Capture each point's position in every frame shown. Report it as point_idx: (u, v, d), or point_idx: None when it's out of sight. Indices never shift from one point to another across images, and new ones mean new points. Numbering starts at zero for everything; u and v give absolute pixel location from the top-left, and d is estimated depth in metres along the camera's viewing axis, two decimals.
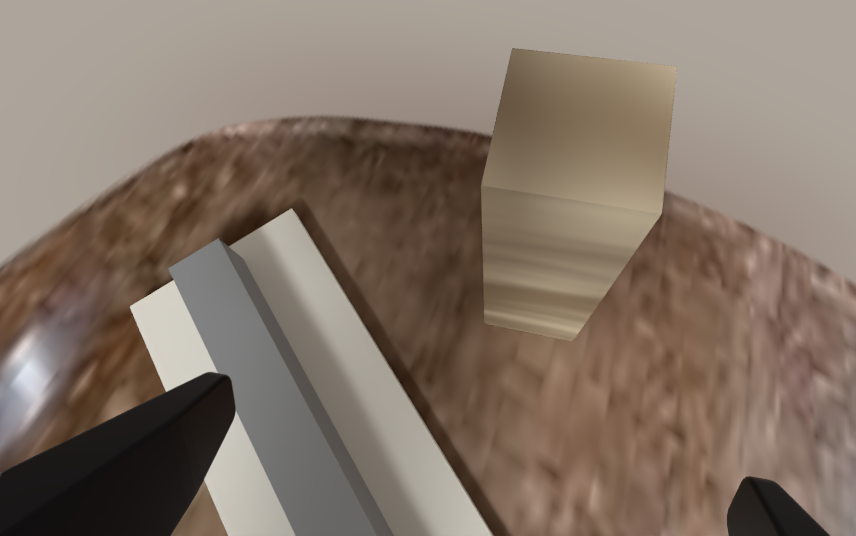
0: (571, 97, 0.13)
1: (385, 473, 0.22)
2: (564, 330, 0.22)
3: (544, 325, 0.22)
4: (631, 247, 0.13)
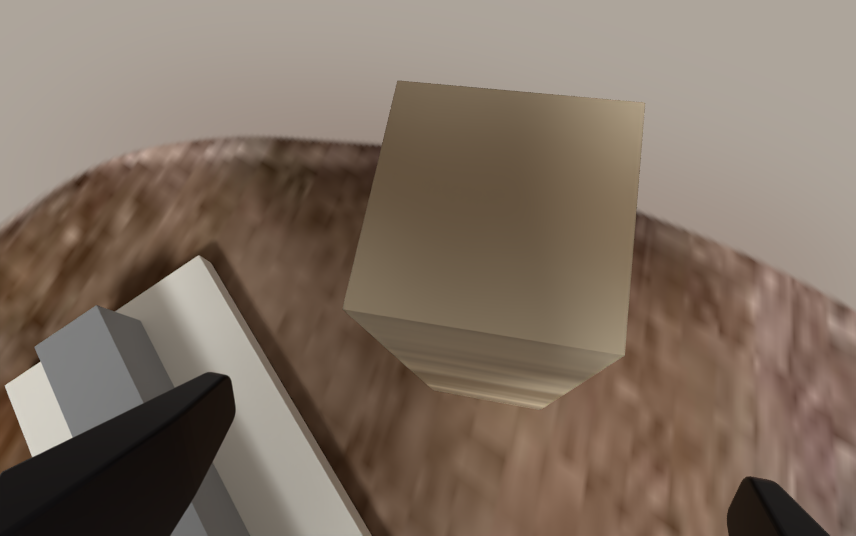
0: (484, 157, 0.08)
1: None
2: (527, 404, 0.18)
3: (502, 399, 0.18)
4: (587, 372, 0.09)
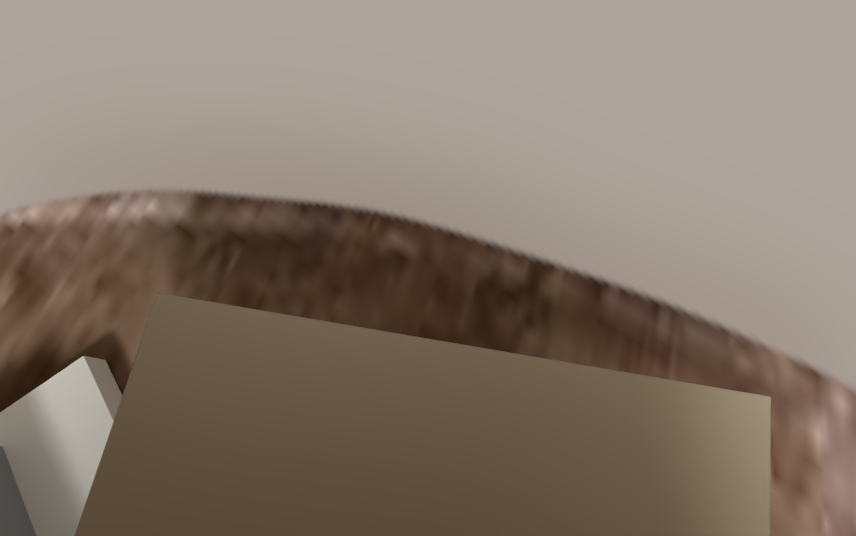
0: None
1: None
2: None
3: None
4: None
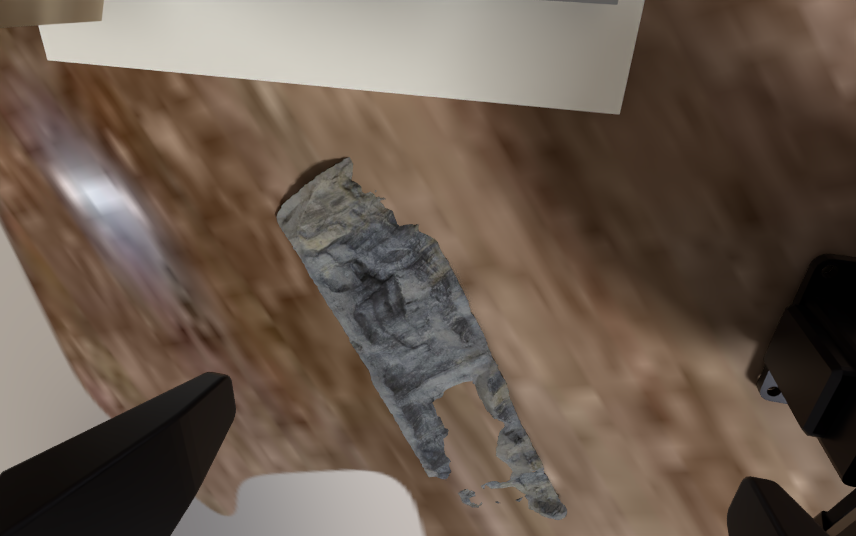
0: None
1: None
2: None
3: None
4: None
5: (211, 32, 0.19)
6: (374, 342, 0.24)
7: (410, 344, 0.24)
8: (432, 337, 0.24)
